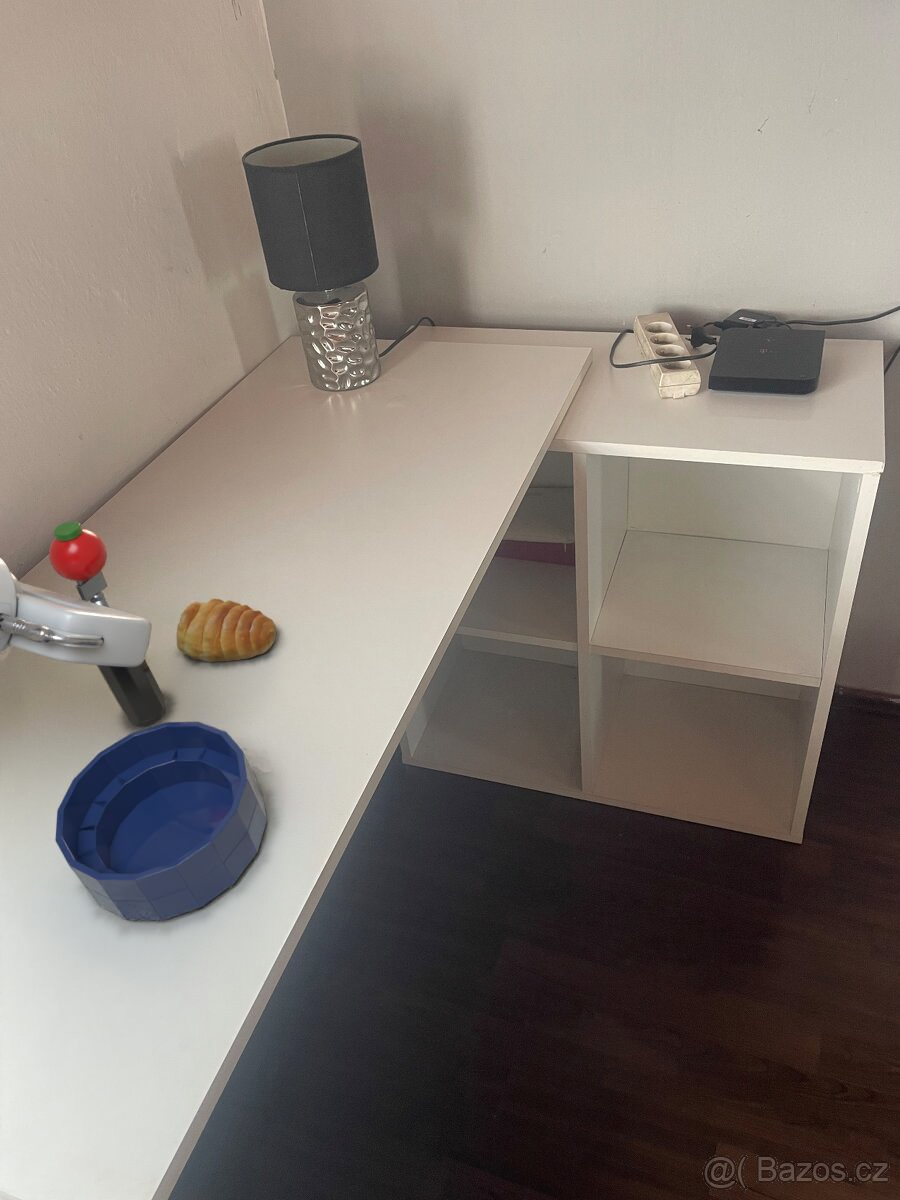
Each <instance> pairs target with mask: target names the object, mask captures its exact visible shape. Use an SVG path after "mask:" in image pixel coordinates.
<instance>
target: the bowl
mask: <svg viewBox="0 0 900 1200" xmlns="http://www.w3.org/2000/svg"><path fill="white" fill-rule="evenodd" d="M267 820H268V819H267V814H266V807H265V802H264V796H263V791H262V790H261V788H260V786H259V783H258V781H257V779H256V777H255V774H254V772H253V770H252V768H251V766H250V764H249V761H248V759H247V757H246V755H245V752H244V750H243V749H242V748H241V747H240V746H239V745H238V743H237V742H236V741H235V740H234V739H233V738H232V737H231V736H230V734H229V733H228V732H227V731H226V730H223V729H220V728H217V727H215V726H212V725H209V724H207V723H204V722H202V721H166V722H165V721H164V722H162V723H159V724H156V725H152V726H150V727H149V726H148V727H146V728H143V729H140V730H137V731H133V732H131V733H129V734H127V735H126V736H124V737H122V738H120V739H119V740H118V741H116V742H114V743H113V744H111V745H109V746H108V747H106V748H104V749H103V750H101V751H100V752H98V753H97V754H96V755H95V756H94V757H93V759H92V760H90V761H89V763H87V765H85V766H84V768H82V770H81V771H80V772H79V773H78V774H77V775H76V776H75V777H74V778H73V779H72V781H71V782H70V785H69V786H68V788H67V791H66V792H65V794H64V796H63V797H62V800H61V802H60V804H59V806H58V807H57V810H56V822H55V823H56V824H55V825H56V826H55V843H56V845H57V847H58V848H59V850H60V852H61V854H62V856H63V858H64V860H65V861H66V863H67V865H68V867H70V870H72V871H73V873H74V874H75V875H76V877H77V878H78V879H79V882H81V884H82V885H83V886H84V888H86V890H87V891H88V893H89V894H90V896H91V897H92V898H93V899H94V900H95V902H96V903H97V904H98V905H99V906H100V907H102V908H104V909H106V910H107V911H109V912H111V913H113V914H114V915H117V916H119V917H121V918H122V919H125V920H129V921H130V920H133V921H134V920H136V921H165V920H168V919H171V918H174V917H177V916H180V915H182V914H186V913H188V912H192V911H195V910H197V909H200V908H202V907H204V906H205V905H206V904H208V903H209V902H211V901H212V900H214V899H215V898H216V897H218V896H219V895H221V894H222V893H223V892H224V891H226V890H227V889H229V888H230V887H232V886H233V885H234V884H235V883H236V882H237V880H238V879H239V878H240V876H241V875H242V874H243V872H244V871H245V870H246V868H247V867H248V866H249V865H250V863H251V862H252V861H253V859H254V858H255V857H256V855H257V854H258V852H259V848H260V845H261V842H262V839H263V836H264V832H265V828H266V825H267Z"/></svg>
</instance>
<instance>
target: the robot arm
mask: <svg viewBox="0 0 900 1200" xmlns="http://www.w3.org/2000/svg"><path fill="white" fill-rule="evenodd" d="M152 625H153V624H152V622H151V621H150V620H149V619H148V618H146V617H143V616H139V615H136V614H133V613H129V612H125V611H122V610H118V609H115V608H112V607H110V608H108V607H105V606H101V605H98V604H94V603H91V602H90V601H88V602H87V601H84V600H82V599H81V598H77V597H73V596H69V595H66V594H63V593H60V592H56V591H52V590H48V589H45V588H42V587H38V586H35V585H32V584H27V583H24V582H21V581H19V580H18V579H17V577H16V575H14V574H13V573H12V572H11V570H10V568H9V566H8V565H7V564H6V562H5V561H4V560H3V558H1V557H0V654H1V653H2V652H4V651H5V650H7V649H8V648H10V647H13V648H17V649H19V650H22V651H25V652H28V653H31V654H34V655H37V656H39V657H40V656H41V657H44V658H46V659H49V660H54V661H59V662H64V663H72V664H79V665H89V666H90V665H91V666H97V665H104V666H120V667H136V666H139V665H140V664H142V663H143V661H144V659H145V658H146V657H147V653H148V650H149V645H150V642H151V634H152V627H153V626H152ZM145 660H146V659H145Z"/></svg>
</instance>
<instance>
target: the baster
mask: <svg viewBox="0 0 900 1200" xmlns="http://www.w3.org/2000/svg"><path fill="white" fill-rule="evenodd" d="M53 535H54V538H53V540H52V542H51V543H50V546H49V550H48V559H49V563H50V565H51V567H52V569H53V570H54V571H55V573H57V574H58V575H59V576H60V577H62V578H64V579H66V580H68V581H71V582H75V583H76V585H75V588H76V591H77V593H78V595H79V597H80V600H84V601H87V602H91V603H94V604H98V605H101V606H105V607H108V608H111V607H110V604H109V602H108V600H107V597H106V595H105V594H104V592H102V591H104V590H105V589H106V588H108V582H107V580H106V578H105V576H104V574H103V571H102V570H103V569H104V567H105V565H106V563H107V557H108V553H107V548H106V545H105V543H104V541H103V539H102V538H101V537H100V536H99V535H97V533H95V532H94V531H91V530H89V529H86V528H83V527H82V526H81V523H79V522H78V521H75V520H74V521H73V520H71V521H66V522H63V523H60V524H59V525H57V526H56V527H55V528H54V529H53Z"/></svg>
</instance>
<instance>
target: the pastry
mask: <svg viewBox="0 0 900 1200" xmlns="http://www.w3.org/2000/svg"><path fill="white" fill-rule="evenodd" d="M276 632H277V626H276V624H275V622H274V620H273V619H271V618H270V617H268V616H266V615H264V614H263V613H262V611H260V610H255V609H253V608H252V607H250V606H249V605H248V604H242V603H239V602H236V601H233V600H229V599H228V600H226V601H225V600H222V599H219V598H211V599H210V600H208V601H207V602H199V601H194V602H191V603H190V604H189V605H187V606H186V607H185V609H184V610H183V612H182V613H181V614H180V617H179V622H178V624H177V628H176V646H177V649H178V650H179V651H180V652H182V653H183V654H185V655H187V656H189V657H190V658H192V659H194V660H195V661H197V660H201V661H205V662H209V663H210V662H217V663H218V662H220V661H221V662H223V661H224V662H231V661H240V660H247V659H251V658H254V657H256V656H259V655H262V654H265V653H267V651H268V650H270V649H271V647H272V645H273V644H274V642H275V640H276Z"/></svg>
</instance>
